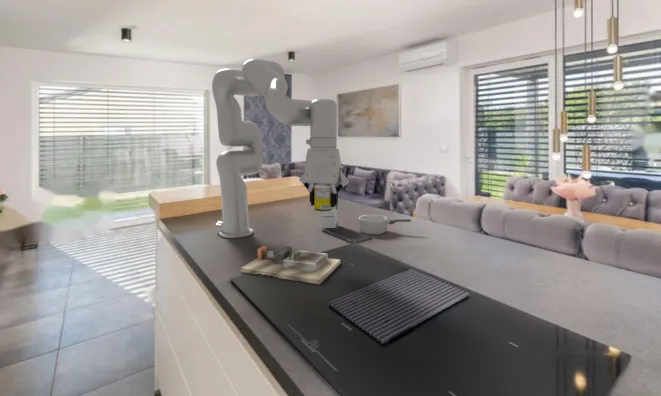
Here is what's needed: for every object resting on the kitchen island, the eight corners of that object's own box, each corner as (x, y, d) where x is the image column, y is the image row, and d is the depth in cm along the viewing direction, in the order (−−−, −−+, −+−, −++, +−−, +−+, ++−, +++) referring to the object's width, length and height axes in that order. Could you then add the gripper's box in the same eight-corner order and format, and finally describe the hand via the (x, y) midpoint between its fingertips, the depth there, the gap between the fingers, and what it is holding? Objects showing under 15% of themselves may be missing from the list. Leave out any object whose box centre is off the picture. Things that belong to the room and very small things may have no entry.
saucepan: (410, 238, 135) (410, 223, 134) (356, 235, 139) (356, 220, 138) (410, 229, 146) (410, 216, 145) (360, 227, 150) (360, 214, 149)
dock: (240, 271, 103) (239, 254, 102) (269, 254, 118) (269, 239, 117) (319, 284, 95) (319, 265, 94) (340, 263, 109) (340, 247, 108)
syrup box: (335, 229, 147) (335, 193, 144) (321, 228, 148) (321, 193, 146) (338, 225, 153) (338, 191, 150) (324, 224, 154) (324, 190, 151)
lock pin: (257, 259, 109) (257, 249, 109) (263, 256, 112) (263, 245, 112) (281, 262, 106) (281, 252, 106) (286, 259, 109) (286, 248, 109)
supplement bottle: (322, 208, 113) (322, 175, 111) (336, 211, 110) (337, 177, 108) (310, 211, 109) (310, 177, 107) (325, 214, 105) (324, 179, 103)
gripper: (290, 144, 105) (291, 206, 108) (348, 144, 99) (347, 210, 103) (301, 143, 112) (302, 201, 115) (355, 143, 106) (355, 205, 110)
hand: (323, 204), depth 109 cm, fingers closed on supplement bottle, 5 cm apart
